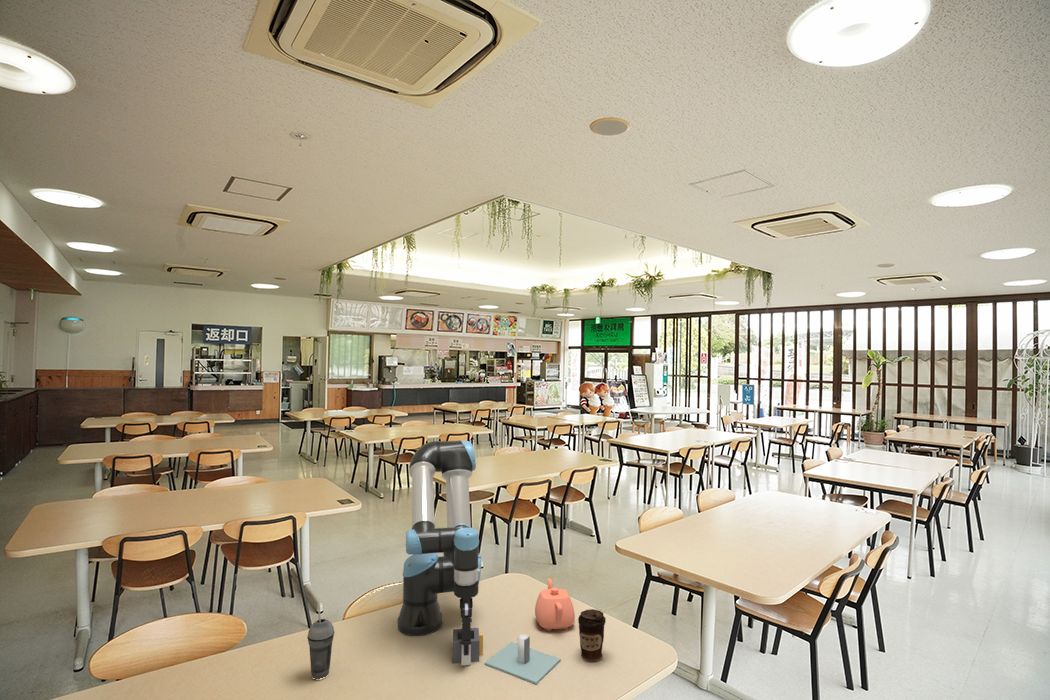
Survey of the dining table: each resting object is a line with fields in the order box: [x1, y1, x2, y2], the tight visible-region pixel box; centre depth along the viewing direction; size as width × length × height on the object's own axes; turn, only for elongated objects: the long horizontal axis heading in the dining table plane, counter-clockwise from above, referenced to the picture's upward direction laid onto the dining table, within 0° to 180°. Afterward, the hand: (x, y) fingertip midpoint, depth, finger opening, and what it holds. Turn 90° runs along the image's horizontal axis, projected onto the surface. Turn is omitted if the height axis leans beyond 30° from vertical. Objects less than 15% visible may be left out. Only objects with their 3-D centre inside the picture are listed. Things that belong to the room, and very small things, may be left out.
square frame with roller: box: [452, 627, 484, 664], centre depth 160 cm, size 9×8×6 cm
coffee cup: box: [577, 608, 606, 663], centre depth 159 cm, size 9×8×13 cm
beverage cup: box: [306, 603, 335, 679], centre depth 149 cm, size 7×7×20 cm
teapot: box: [534, 577, 576, 632], centre depth 179 cm, size 13×20×12 cm, turn 8°
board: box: [484, 633, 562, 685], centre depth 155 cm, size 18×14×8 cm
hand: (465, 654), depth 159 cm, fingers open, 10 cm apart
